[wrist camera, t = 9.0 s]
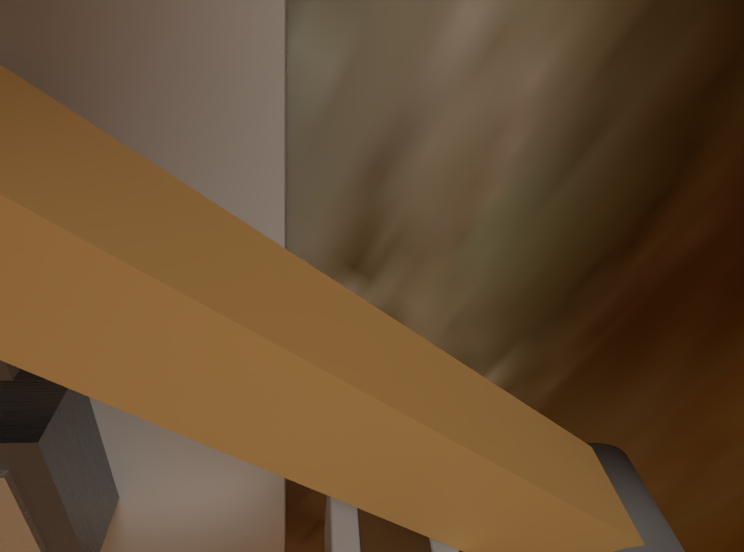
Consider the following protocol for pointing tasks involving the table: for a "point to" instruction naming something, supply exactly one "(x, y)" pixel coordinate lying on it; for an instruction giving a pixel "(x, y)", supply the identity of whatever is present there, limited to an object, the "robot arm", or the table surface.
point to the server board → (203, 174)
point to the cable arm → (275, 355)
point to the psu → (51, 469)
